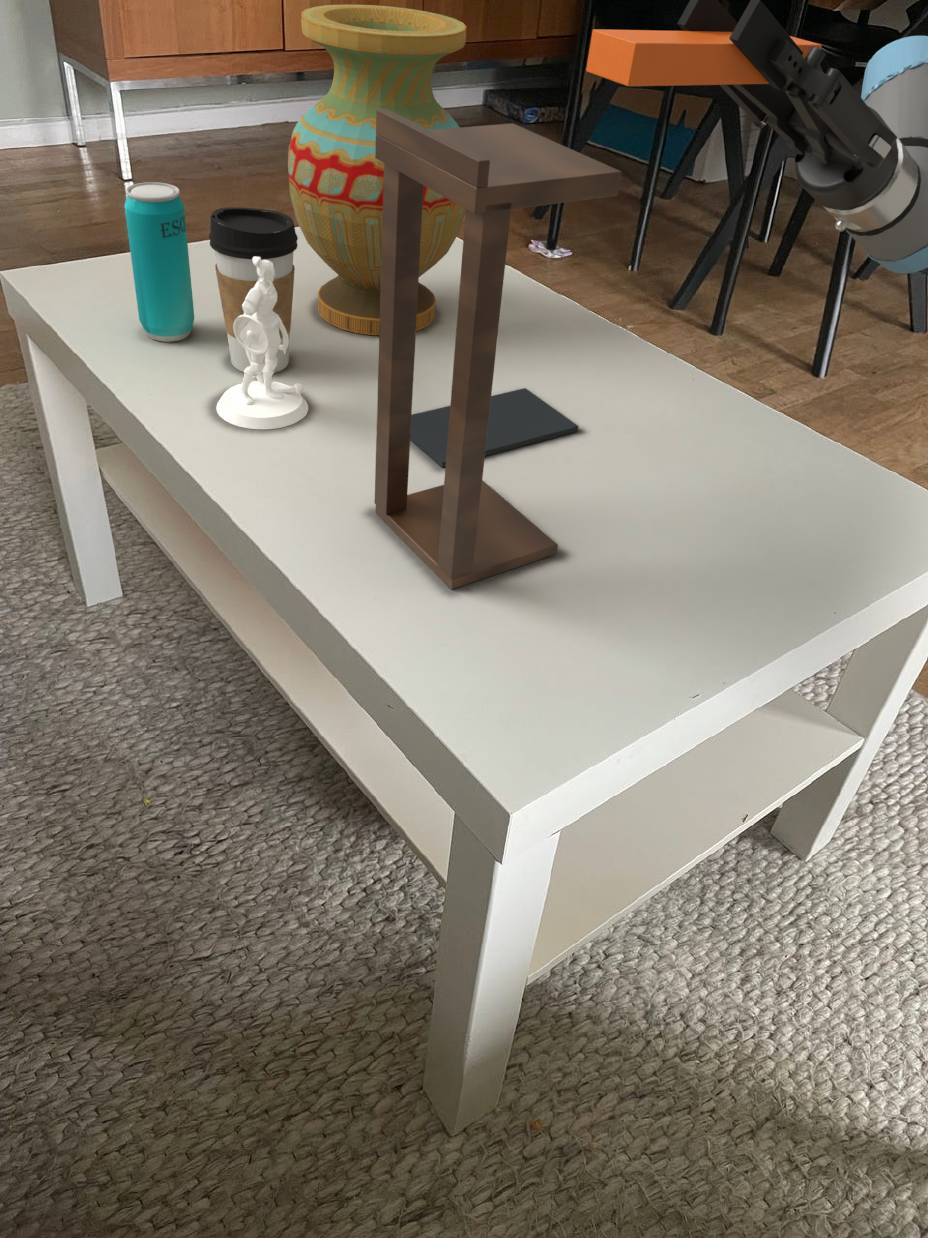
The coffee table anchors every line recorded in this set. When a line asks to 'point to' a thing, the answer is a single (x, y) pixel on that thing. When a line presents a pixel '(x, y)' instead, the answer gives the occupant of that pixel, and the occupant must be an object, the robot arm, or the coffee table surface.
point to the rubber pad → (494, 425)
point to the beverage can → (160, 260)
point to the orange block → (673, 58)
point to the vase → (368, 151)
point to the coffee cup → (252, 267)
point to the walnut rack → (459, 328)
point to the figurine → (261, 363)
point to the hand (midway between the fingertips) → (717, 12)
